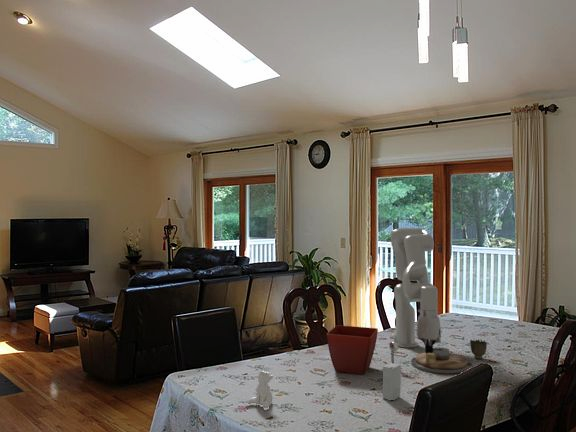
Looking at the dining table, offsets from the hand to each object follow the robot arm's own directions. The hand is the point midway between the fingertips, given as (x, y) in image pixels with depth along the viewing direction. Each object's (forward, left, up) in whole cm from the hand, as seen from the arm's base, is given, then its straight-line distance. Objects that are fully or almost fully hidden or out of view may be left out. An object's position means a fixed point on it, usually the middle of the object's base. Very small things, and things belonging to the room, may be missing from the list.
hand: (429, 353), depth 236 cm
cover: (+6, 0, -1) cm, 6 cm away
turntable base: (+6, 0, -4) cm, 7 cm away
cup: (+14, +22, -4) cm, 26 cm away
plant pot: (-20, -31, -4) cm, 37 cm away
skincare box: (+11, -51, -4) cm, 52 cm away
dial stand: (-8, -18, -4) cm, 20 cm away
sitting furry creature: (-20, -87, -4) cm, 89 cm away
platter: (+6, 0, -3) cm, 6 cm away
